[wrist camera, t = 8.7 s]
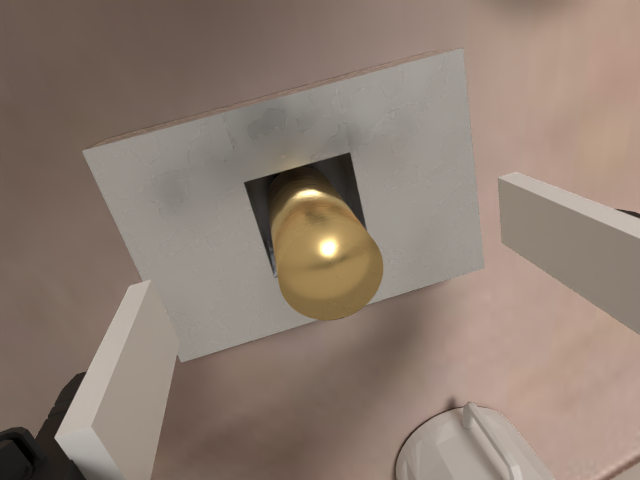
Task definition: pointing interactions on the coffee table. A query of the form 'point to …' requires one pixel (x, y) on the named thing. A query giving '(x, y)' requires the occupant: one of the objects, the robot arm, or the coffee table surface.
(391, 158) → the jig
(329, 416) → the coffee table surface
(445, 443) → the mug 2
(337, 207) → the brass cylinder rod
